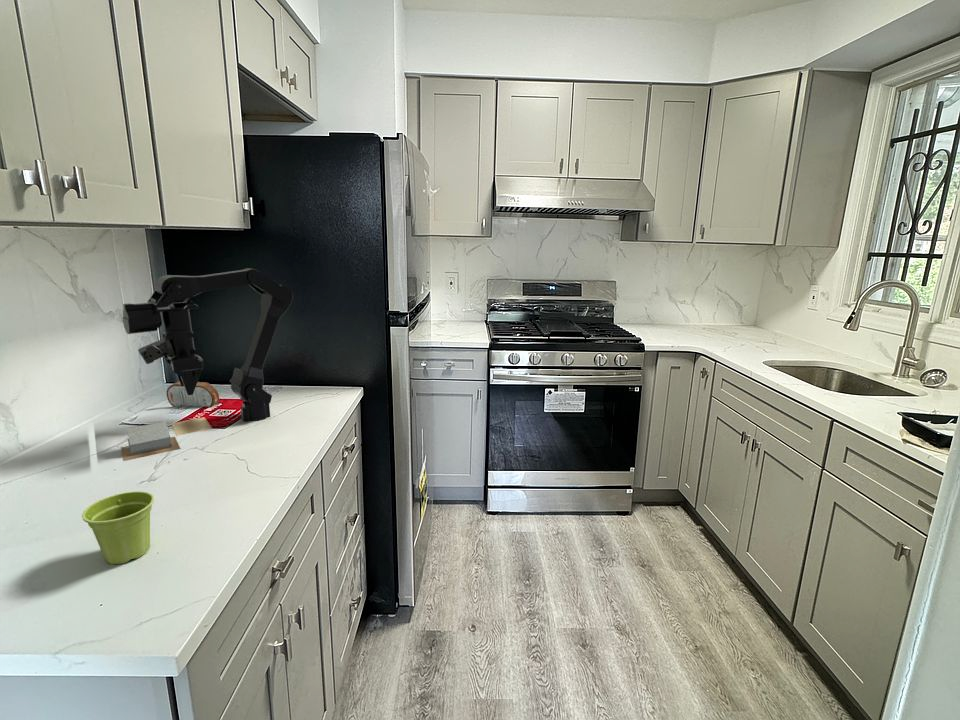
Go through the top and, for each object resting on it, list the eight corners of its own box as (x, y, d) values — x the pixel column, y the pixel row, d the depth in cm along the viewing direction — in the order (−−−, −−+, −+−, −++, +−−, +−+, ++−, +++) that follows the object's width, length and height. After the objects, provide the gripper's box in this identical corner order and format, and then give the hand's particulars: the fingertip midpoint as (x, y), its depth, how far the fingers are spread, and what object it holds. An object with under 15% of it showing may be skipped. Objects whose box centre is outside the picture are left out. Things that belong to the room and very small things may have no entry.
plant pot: (76, 572, 76) (66, 522, 74) (116, 536, 85) (108, 491, 83) (139, 571, 77) (130, 521, 74) (172, 535, 86) (166, 490, 84)
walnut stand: (175, 442, 124) (174, 436, 123) (181, 454, 117) (180, 448, 116) (121, 453, 117) (120, 447, 117) (124, 467, 110) (123, 460, 110)
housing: (129, 448, 116) (125, 428, 115) (168, 440, 121) (166, 421, 120) (131, 456, 112) (127, 435, 111) (172, 447, 117) (169, 427, 116)
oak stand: (205, 422, 137) (204, 417, 136) (212, 433, 129) (212, 428, 129) (171, 428, 132) (170, 423, 131) (177, 440, 124) (176, 435, 124)
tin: (221, 409, 147) (218, 382, 145) (214, 412, 144) (211, 385, 142) (174, 406, 149) (170, 379, 147) (166, 410, 146) (162, 382, 144)
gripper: (133, 326, 121) (144, 387, 125) (142, 339, 107) (153, 407, 111) (185, 321, 128) (193, 379, 132) (200, 333, 114) (208, 397, 118)
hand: (186, 390), depth 123 cm, fingers open, 9 cm apart
